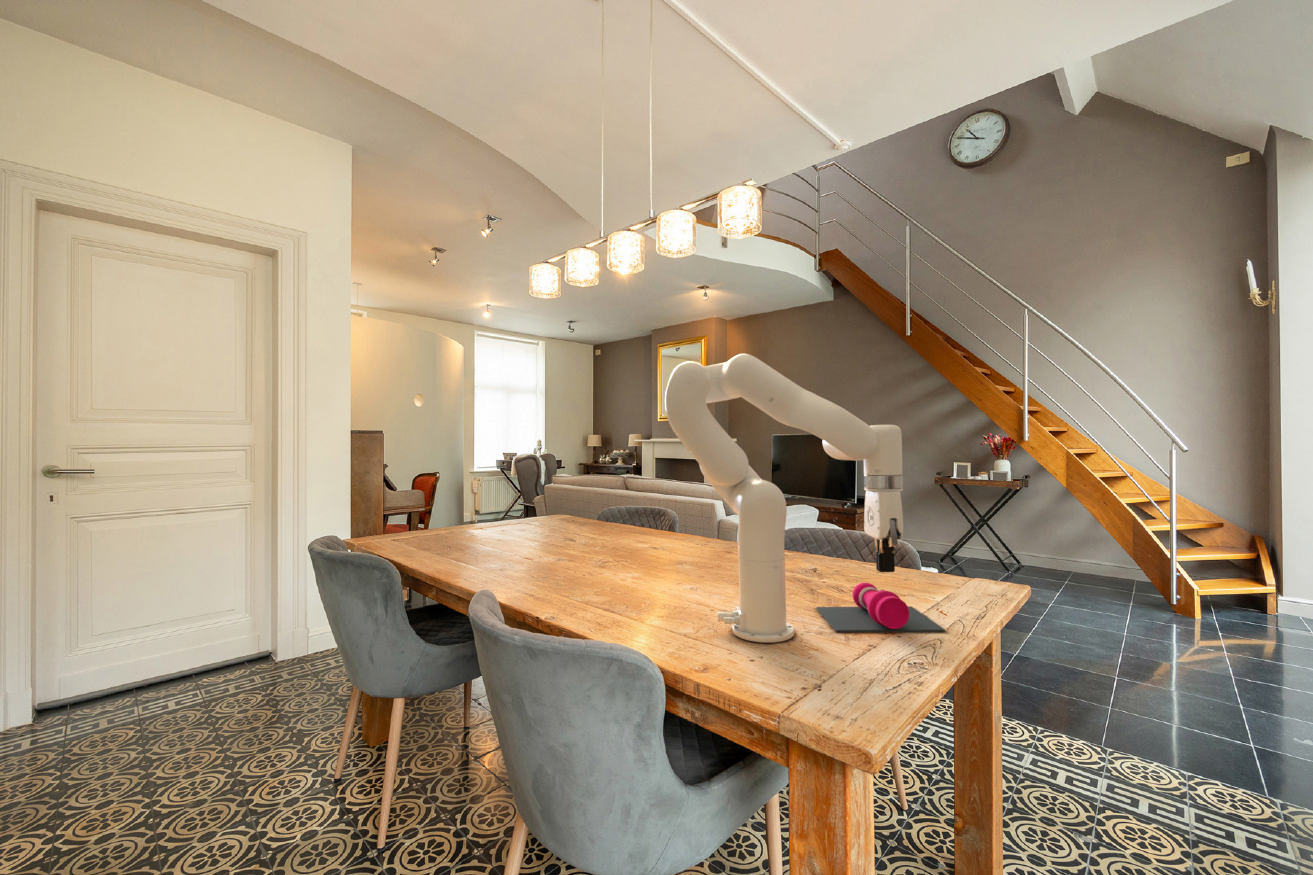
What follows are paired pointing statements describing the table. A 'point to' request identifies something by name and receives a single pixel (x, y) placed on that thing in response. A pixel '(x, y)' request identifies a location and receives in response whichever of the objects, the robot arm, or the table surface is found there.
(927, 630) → the mat
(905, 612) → the pepper mill
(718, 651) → the table surface
